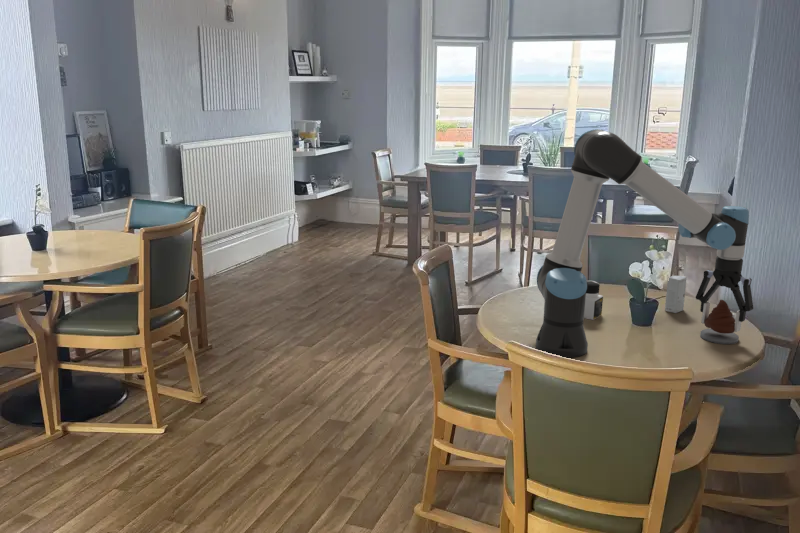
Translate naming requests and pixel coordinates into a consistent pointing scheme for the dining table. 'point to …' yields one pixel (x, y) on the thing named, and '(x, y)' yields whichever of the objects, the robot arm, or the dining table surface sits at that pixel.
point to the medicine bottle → (593, 301)
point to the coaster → (719, 337)
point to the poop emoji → (721, 319)
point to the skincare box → (675, 294)
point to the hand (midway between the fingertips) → (720, 326)
